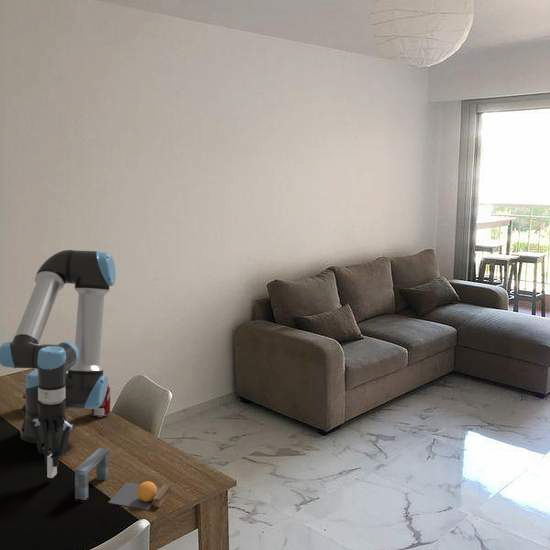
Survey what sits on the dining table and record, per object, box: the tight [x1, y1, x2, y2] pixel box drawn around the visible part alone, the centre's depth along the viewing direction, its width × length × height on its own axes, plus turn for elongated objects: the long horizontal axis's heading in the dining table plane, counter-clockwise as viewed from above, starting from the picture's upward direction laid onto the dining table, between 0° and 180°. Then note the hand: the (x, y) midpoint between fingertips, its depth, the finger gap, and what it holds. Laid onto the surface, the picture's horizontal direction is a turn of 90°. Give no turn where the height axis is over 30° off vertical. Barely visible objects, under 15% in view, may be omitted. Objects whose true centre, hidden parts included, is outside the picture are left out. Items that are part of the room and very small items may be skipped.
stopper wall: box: [152, 484, 171, 508], centre depth 177 cm, size 2×8×2 cm, turn 168°
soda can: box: [91, 383, 111, 418], centre depth 233 cm, size 7×7×12 cm
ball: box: [137, 480, 158, 502], centre depth 176 cm, size 6×6×6 cm
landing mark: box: [107, 481, 162, 511], centre depth 178 cm, size 12×12×1 cm
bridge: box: [74, 447, 110, 501], centre depth 180 cm, size 3×14×9 cm, turn 168°
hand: (52, 475), depth 183 cm, fingers closed
